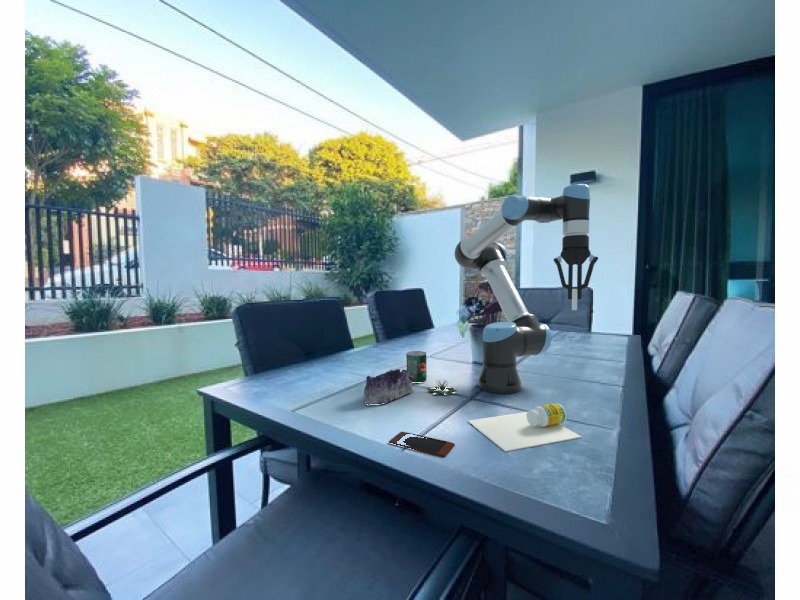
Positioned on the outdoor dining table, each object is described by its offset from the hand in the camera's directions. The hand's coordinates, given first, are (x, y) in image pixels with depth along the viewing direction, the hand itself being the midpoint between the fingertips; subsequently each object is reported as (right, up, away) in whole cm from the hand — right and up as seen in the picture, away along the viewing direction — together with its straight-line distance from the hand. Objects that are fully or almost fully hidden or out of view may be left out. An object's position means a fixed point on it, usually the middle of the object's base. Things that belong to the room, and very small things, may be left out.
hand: (574, 309), depth 113 cm
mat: (-24, -31, -20) cm, 44 cm away
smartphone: (-51, -33, -27) cm, 66 cm away
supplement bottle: (-12, -28, -16) cm, 34 cm away
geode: (-60, -30, +7) cm, 68 cm away
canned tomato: (-49, -29, +25) cm, 63 cm away
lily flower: (-41, -30, +12) cm, 52 cm away
